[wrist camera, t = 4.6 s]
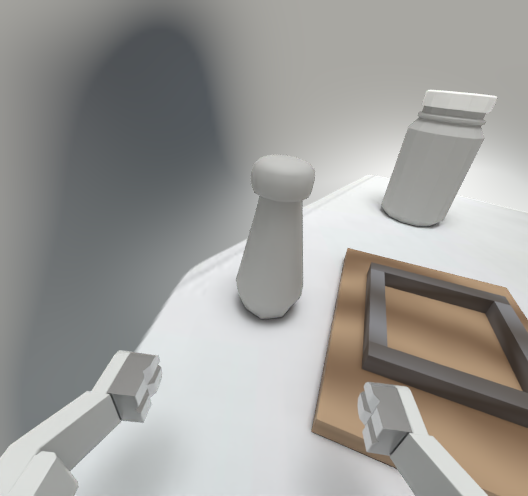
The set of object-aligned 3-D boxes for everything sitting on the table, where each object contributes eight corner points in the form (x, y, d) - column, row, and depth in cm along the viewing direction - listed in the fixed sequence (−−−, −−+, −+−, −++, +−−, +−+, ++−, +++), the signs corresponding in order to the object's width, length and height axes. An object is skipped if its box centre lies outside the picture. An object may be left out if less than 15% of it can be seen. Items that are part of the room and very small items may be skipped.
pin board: (665, 584, 12) (735, 572, 10) (311, 431, 16) (321, 404, 14) (498, 298, 28) (515, 276, 26) (344, 258, 32) (351, 236, 30)
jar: (430, 209, 48) (482, 95, 39) (450, 233, 40) (522, 98, 31) (375, 200, 50) (412, 88, 40) (383, 222, 42) (432, 89, 32)
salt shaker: (246, 277, 27) (255, 144, 20) (301, 289, 26) (330, 155, 19) (226, 318, 22) (228, 162, 16) (293, 334, 22) (327, 177, 15)
